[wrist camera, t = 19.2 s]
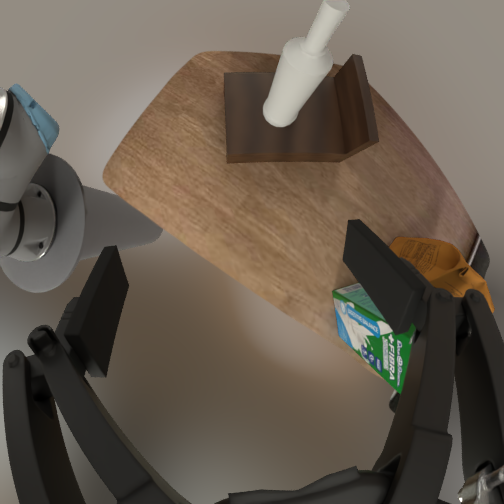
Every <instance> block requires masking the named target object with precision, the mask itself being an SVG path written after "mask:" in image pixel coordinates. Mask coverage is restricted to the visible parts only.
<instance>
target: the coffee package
mask: <svg viewBox="0 0 504 504" xmlns="http://www.w3.org/2000/svg"><path fill="white" fill-rule="evenodd" d="M389 248H390V249H391V250H392V251H393V252H394V253H395V254H396V255H397V256H398V257H399V258H400V257H402V258H404V259H406V260H408V261H409V262H411V263H412V264H413V265H414V267H415V268H416V269H417V270H418V271H419V272H420V274H422V275H423V276H424V277H425V278H426V279H427V280H428V281H429V282H430V283H431V284H432V285H433V286H434V288H443V289H445V290H448V291H449V292H450V293H451V294H452V295H453V296H454V297H464V294H465V292H466V290H468V289H475V290H478V291H480V292H481V293H482V294H483V295H484V296H485V298H486V300H487V302H488V305H489V307H490V309H491V312H492V313H493V312H494V310H495V308H494V306H493V303H492V299H491V296H490V293H489V290H488V287H487V284H486V281H485V280H484V279H483V278H482V277H481V276H480V275H479V274H478V273H476V272H475V271H474V270H473V269H472V268H471V267H470V266H469V265H468V264H467V263H466V261H465V259H464V258H463V256H462V255H461V253H460V251H459V250H458V249H457V248H456V247H455V246H454V245H452V244H450V243H447V242H444V241H440V240H435V239H429V238H407V237H397V238H395V240H394V241H393V243H392V244H391V245H390V246H389Z"/></svg>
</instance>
